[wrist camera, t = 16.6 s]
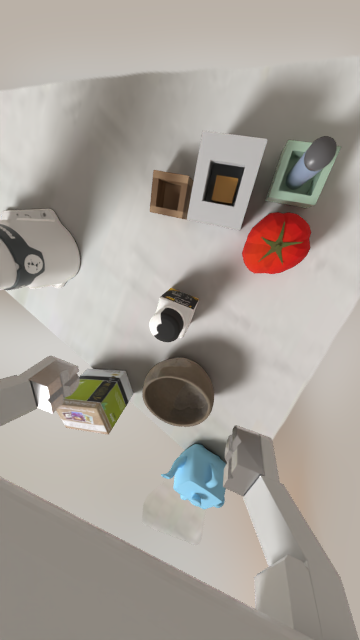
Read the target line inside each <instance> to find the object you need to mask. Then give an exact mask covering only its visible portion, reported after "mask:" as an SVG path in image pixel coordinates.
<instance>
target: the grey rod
mask: <svg viewBox="0 0 360 640" xmlns="http://www.w3.org/2000/svg"><path fill="white" fill-rule="evenodd" d="M336 149H337V145H336V142H335V140H334V139H333V138H331V137H328V136H324V137H321V138H319V139H317V140H315V141H314V142H313V143H312V144H311V145H310V147H309V148H308V149H307V150H306V152H305V153H304V154H303V156H302V157H301V158H300V159H299V161H298V162H297V163H296V164H295V166H294V167H293V168H292V169H291V171H290V172H289V173H288V175H287V177H286V185H287V187H288V188H290V189H297V188H299V187H301V186H302V185H303V184H304V183H306V182H307V181H308V180H309V179H311V178H312V177H313V176H314V175H316V174H317V173H318V172H319V171H321V170H322V169H323V168H324V167H326V166H327V165H328V164H329V163H330V162H331V161H332V160H333V158H334V156H335V154H336Z"/></svg>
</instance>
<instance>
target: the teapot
mask: <svg viewBox="0 0 360 640" xmlns="http://www.w3.org/2000/svg"><path fill="white" fill-rule="evenodd" d="M225 466H226V463H225V462H224V461H222V460H221V459H220V457H219V456H218V455H214V454H213V453H211V452H210V451H208V450H207V449H205V447H204V446H203V445H200V444H194V445H192V446H191V447H189V448H188V449H186V450H185V451H184V452H183V453H181V455H180V457H178V458H177V459H176V460H175V461H174V463H173V465H172V468H171V470H170V471H169V472H168V473H167V474H161V475H162V476H163V477H164V478H167V479H171V478H172V477H173V476H174V475H175V478H174V490H175V491H176V492H178V493H179V494H180V497H181V499H183V500H187V499H188V500H189V501H191V503H192V504H193V505H195V506H199V507H200V508H202V509H207V508H210V507H213V506H214V507H216V508H220V507H222V506H223V504H224V494H225V489H226V488H224V487H223V476H224V468H225Z"/></svg>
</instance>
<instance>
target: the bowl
mask: <svg viewBox="0 0 360 640" xmlns="http://www.w3.org/2000/svg"><path fill="white" fill-rule="evenodd" d="M143 400H144V403H145V405H146V406H147V408H148V409H149V410H150V411H151V412H152V413H153V414H154V415H155V416H156V417H158V418H159V419H160V420H162V421H164V422H166V423H168V424H171V425H174V426H184V427H189V426H194V425H197V424H200V423H202V422H203V421H204V420H205V419H206V418H207V417H208V416H209V415H210V413H211V411H212V407H213V403H214V390H213V385H212V382H211V380H210V378H209V376H208V375H207V373H206V372H205V370H204V369H203V368H202V367H201V366H200V365H199V364H197V363H196V362H194V361H192V360H189V359H186V358H173V359H168V360H165V361H162V362H160V363H158V364H156V365H155V366H154V367H153V368H152V369H151V370H150V371H149V373H148V374H147V376H146V378H145V381H144V385H143Z"/></svg>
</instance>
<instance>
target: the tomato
mask: <svg viewBox="0 0 360 640" xmlns="http://www.w3.org/2000/svg"><path fill="white" fill-rule="evenodd" d="M310 234H311V230H310V227H309V225H308V223H307V222H306V221H305V220H304V219H303V218H302V217H300V216H299V215H298V214H294V213H289V212H288V213H284V214H283V213H279V212H276V213H269V214H268V215H267V216H266V217H264V218H263V219H262V220H261V221H260V222H259V223H258V224H256V225H255V226H254V227H253V228H252V230H251V231H250V233H249V235H248V237H247V240H246V243H245V246H244V249H243V252H242V255H243V260H244V263H245V265H246V266H247V268H248V269H249V270H250V271H251V272H253V273H269V274H275V273H281V272H283V271H285V270H288V269H290V268H292V267H294V266H296V265H297V264H298V263H300V262H301V261H302V260H303V259H304V258H305V257H306V256H307V254H308V252H309V250H310V242H309V238H310Z"/></svg>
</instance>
